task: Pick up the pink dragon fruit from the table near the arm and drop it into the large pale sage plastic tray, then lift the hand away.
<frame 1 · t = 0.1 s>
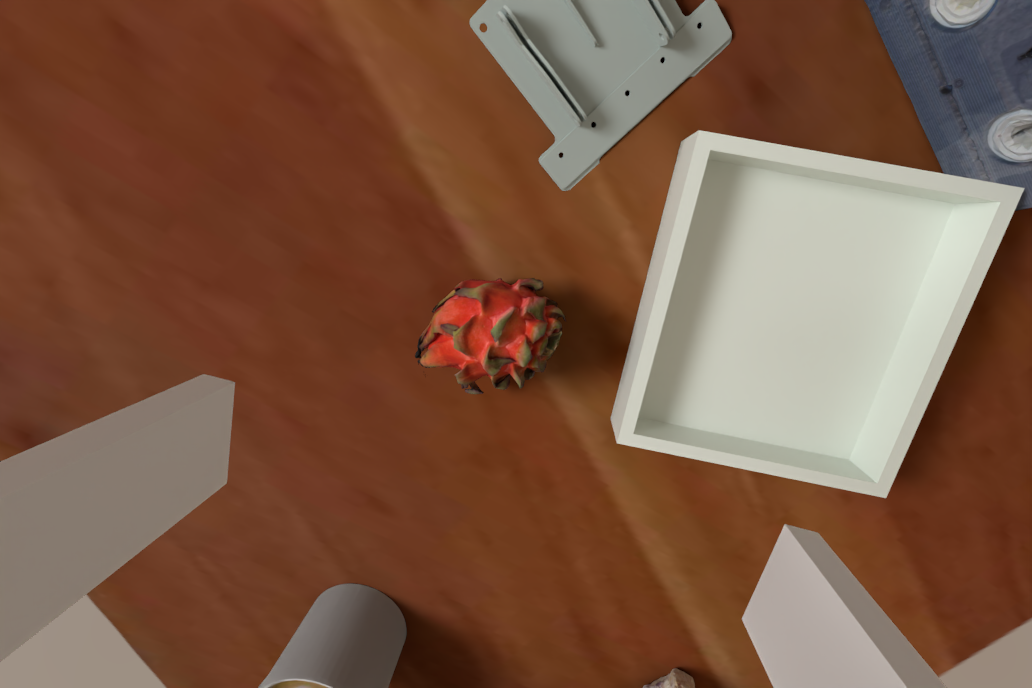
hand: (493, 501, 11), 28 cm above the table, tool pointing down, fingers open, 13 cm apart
metal bracket: (587, 50, 34), on the table
tray: (771, 315, 37), on the table
coffee mug: (344, 625, 48), on the table
vhs cassette tape: (921, 95, 32), on the table, touching tray
dragon fruit: (494, 324, 39), on the table
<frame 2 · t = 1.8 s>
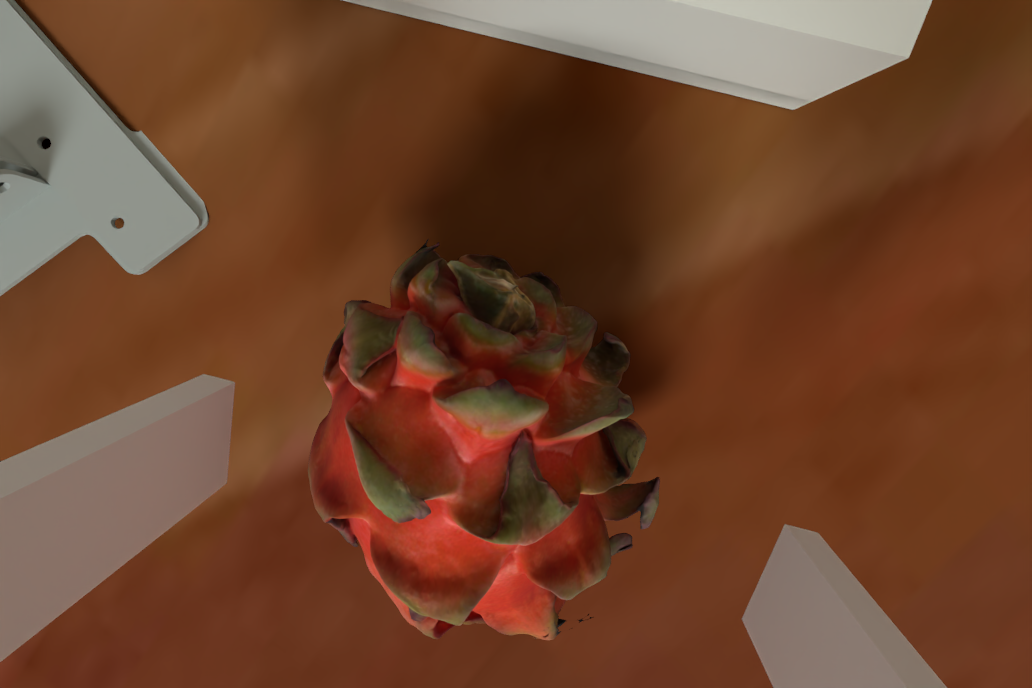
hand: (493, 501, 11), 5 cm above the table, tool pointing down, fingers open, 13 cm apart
dragon fruit: (503, 404, 17), on the table
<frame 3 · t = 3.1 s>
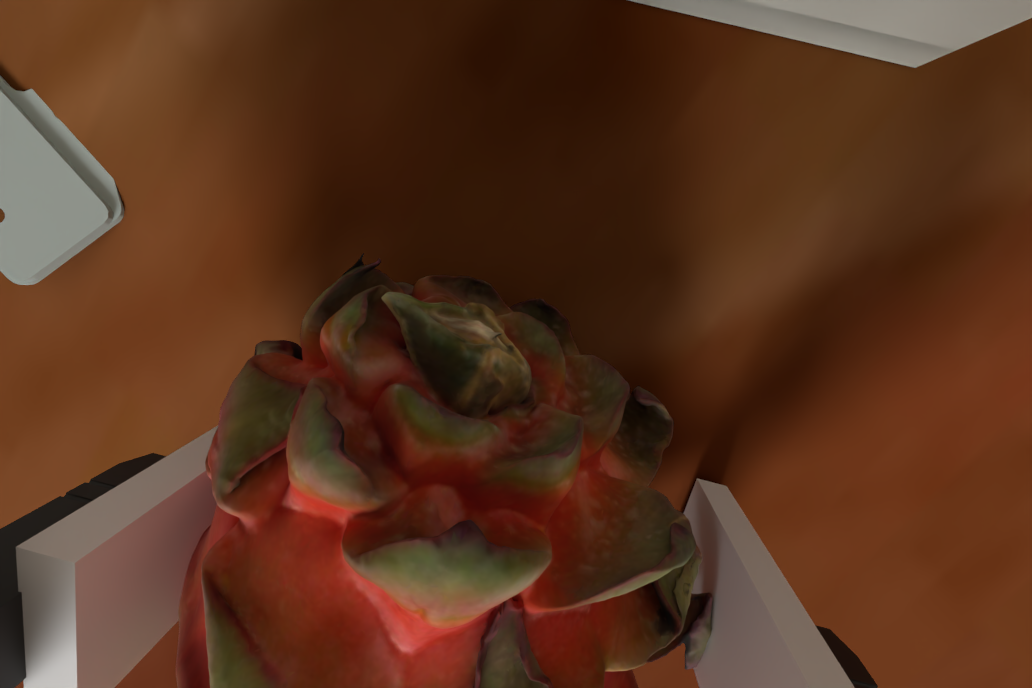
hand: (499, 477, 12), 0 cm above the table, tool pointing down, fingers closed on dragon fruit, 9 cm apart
dragon fruit: (492, 466, 13), on the table, touching gripper
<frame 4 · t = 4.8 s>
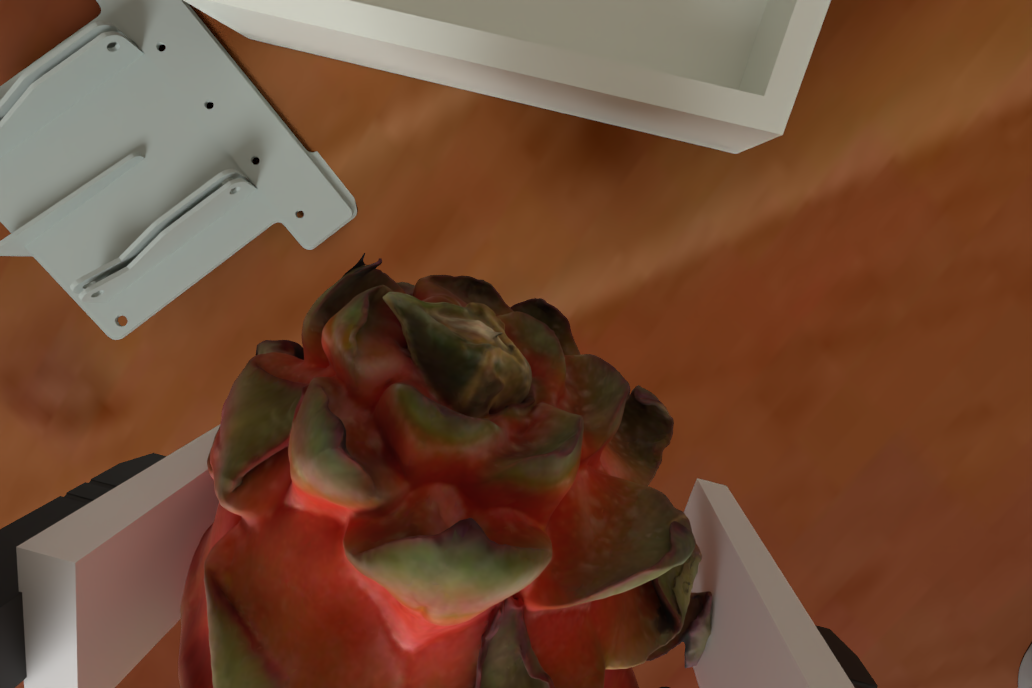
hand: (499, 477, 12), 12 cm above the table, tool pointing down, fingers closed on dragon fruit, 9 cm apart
metal bracket: (176, 170, 24), on the table
dragon fruit: (493, 466, 13), point 11 cm above the table, touching gripper
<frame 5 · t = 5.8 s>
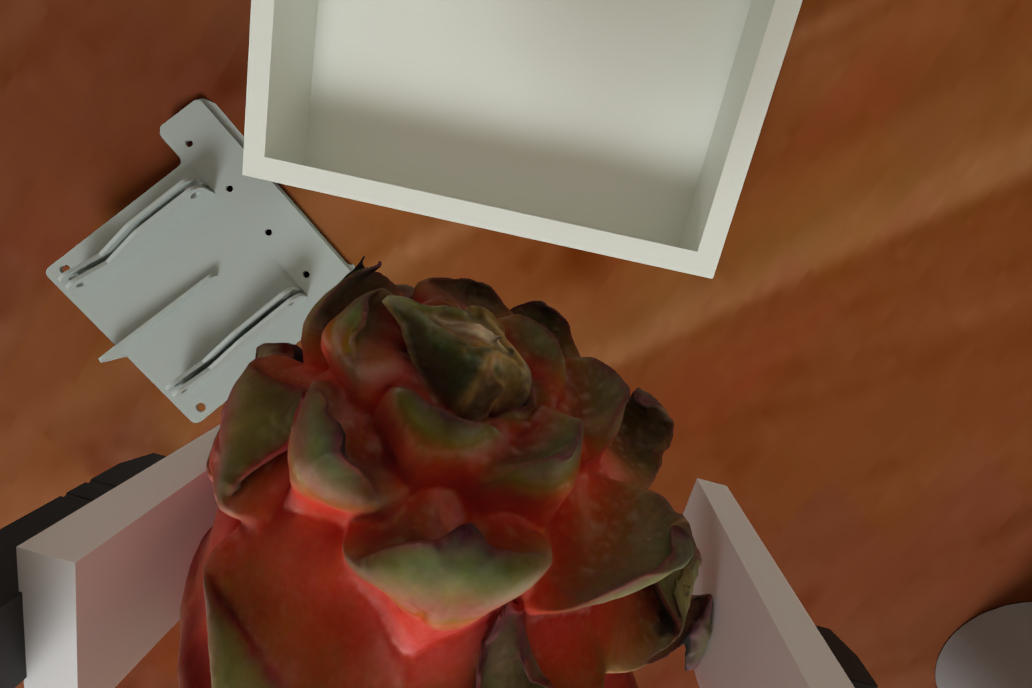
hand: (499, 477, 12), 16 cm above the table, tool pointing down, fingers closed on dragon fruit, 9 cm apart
metal bracket: (237, 277, 29), on the table
tray: (526, 19, 23), on the table
coffee mug: (1017, 685, 30), on the table
dragon fruit: (493, 467, 13), point 15 cm above the table, touching gripper
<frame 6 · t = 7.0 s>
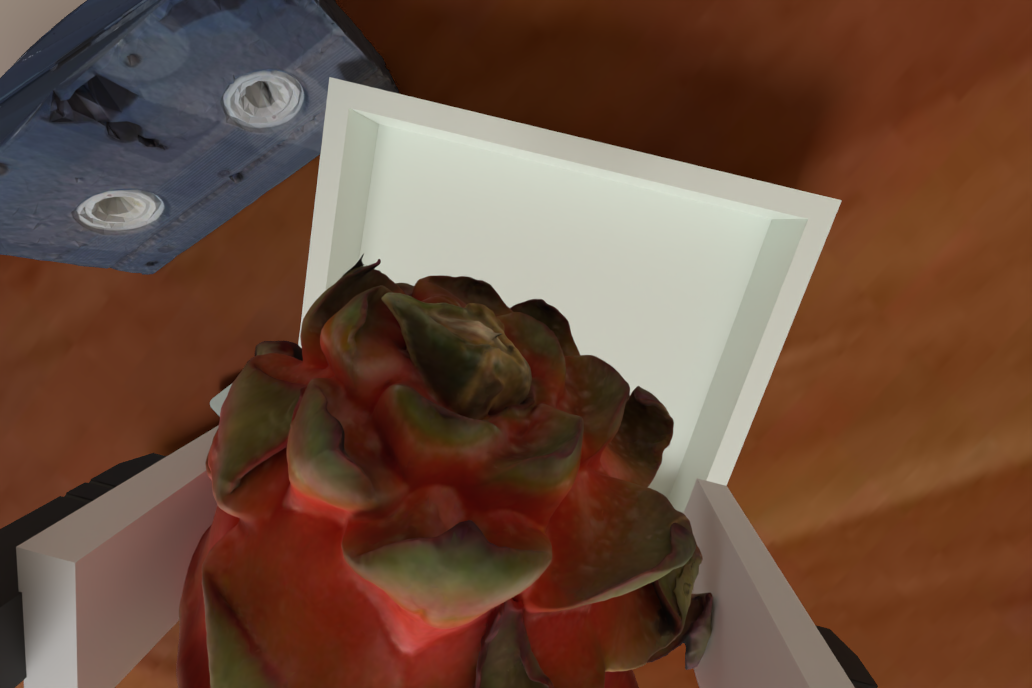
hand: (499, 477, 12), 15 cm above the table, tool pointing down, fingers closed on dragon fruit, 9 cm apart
tray: (531, 337, 27), on the table
vhs cassette tape: (261, 174, 26), on the table, touching tray
dragon fruit: (493, 466, 13), point 15 cm above the table, touching gripper
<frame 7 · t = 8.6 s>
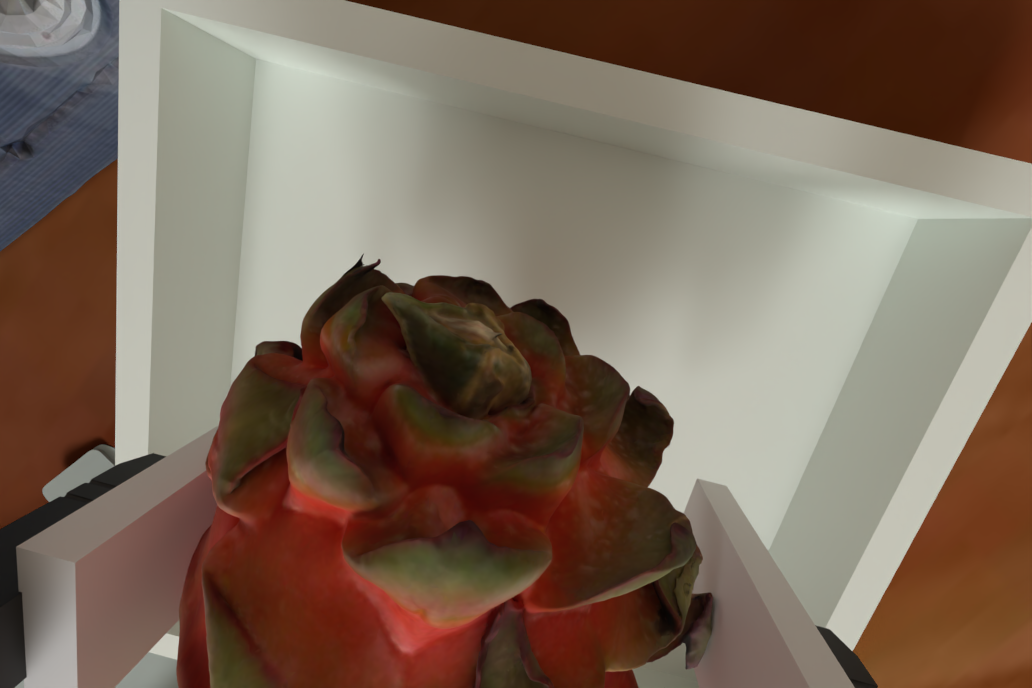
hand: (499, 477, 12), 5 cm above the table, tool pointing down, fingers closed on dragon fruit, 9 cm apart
metal bracket: (157, 625, 22), on the table
tray: (514, 402, 17), on the table
vhs cassette tape: (89, 148, 17), on the table, touching tray
dragon fruit: (493, 466, 13), point 5 cm above the table, touching gripper
when the fingers open (4 cm above the table, at t = 9.8 s): dragon fruit drops 3 cm, resting on tray.
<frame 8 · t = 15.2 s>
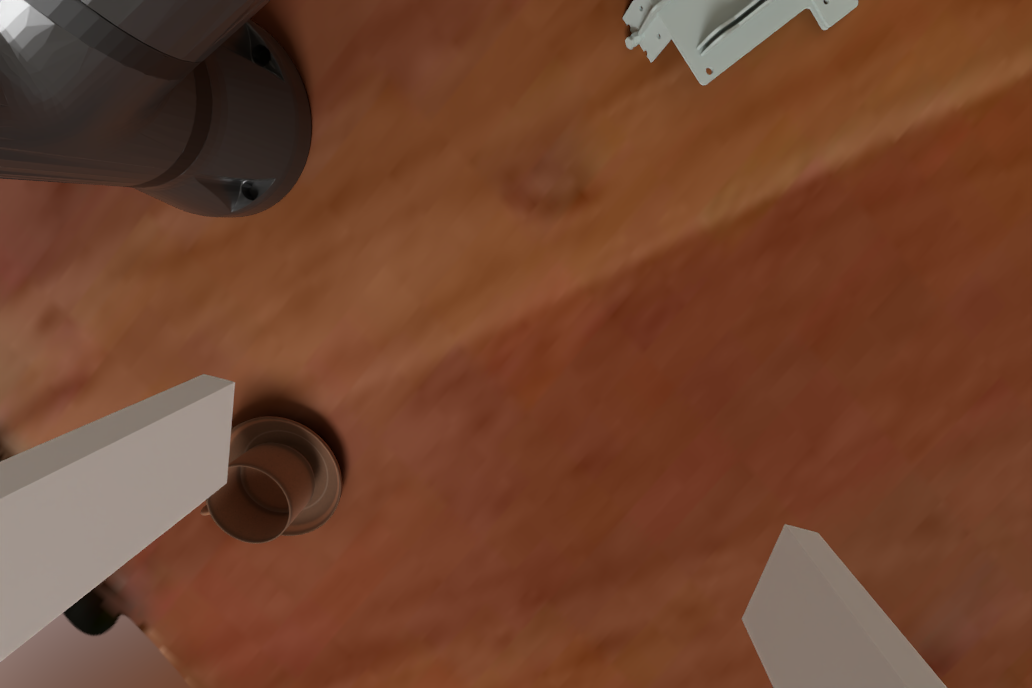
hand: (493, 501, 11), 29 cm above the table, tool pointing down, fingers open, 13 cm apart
cup and saucer: (289, 467, 45), on the table
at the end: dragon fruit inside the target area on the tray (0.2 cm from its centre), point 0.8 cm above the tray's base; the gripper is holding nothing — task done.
